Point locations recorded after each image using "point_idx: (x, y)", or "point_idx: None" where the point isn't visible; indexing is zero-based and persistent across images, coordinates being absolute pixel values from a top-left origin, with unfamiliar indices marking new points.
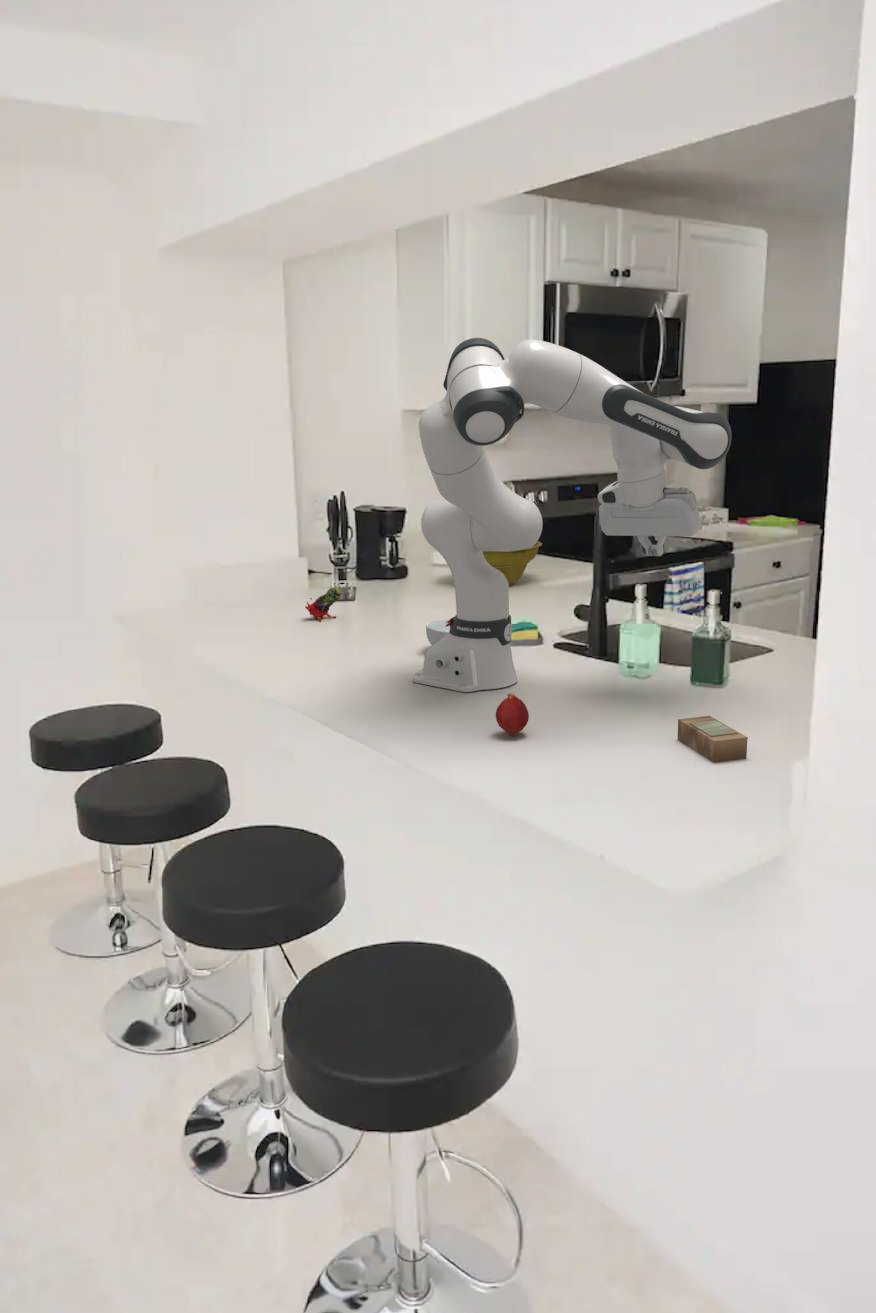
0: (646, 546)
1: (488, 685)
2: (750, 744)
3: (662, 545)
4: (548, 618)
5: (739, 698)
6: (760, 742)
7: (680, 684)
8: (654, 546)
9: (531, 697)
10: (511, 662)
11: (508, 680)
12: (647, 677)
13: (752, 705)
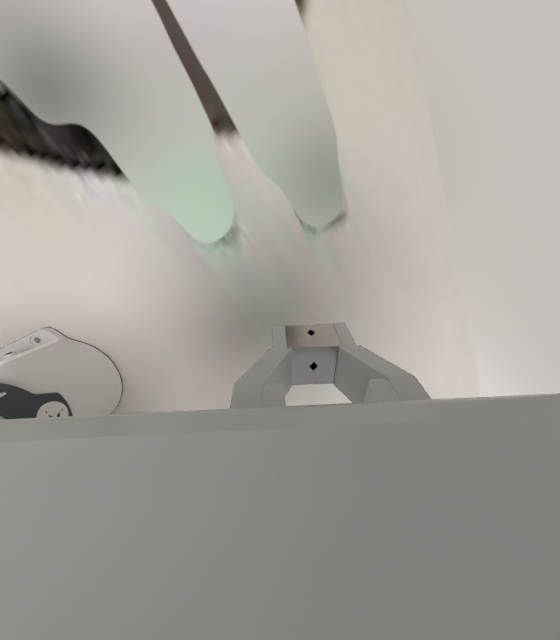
0: (285, 394)
1: (110, 411)
2: (439, 385)
3: (355, 344)
4: None
5: (381, 250)
6: (446, 375)
7: (291, 235)
8: (315, 363)
9: (176, 397)
10: (91, 382)
11: (115, 386)
12: (235, 230)
13: (404, 268)
